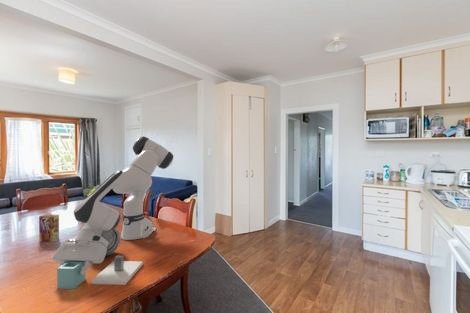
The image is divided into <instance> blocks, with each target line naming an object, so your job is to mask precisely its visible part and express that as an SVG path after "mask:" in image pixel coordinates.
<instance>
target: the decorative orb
mask: <svg viewBox="0 0 470 313" xmlns="http://www.w3.org/2000/svg"><path fill="white" fill-rule="evenodd" d="M101 237H103V238H104V239H106V240H107V241H108V243H109V244H108V246H107V247H106V248H107V252H106V255H105V257H107V256H110V255H112V254H114V252H115V251H116V250H117V249H118V247H119V246H120V242H121V234H120V232H119V231H118V230H117V229H116V228H115V229H113V230H110V231H103V232H102V234H101Z"/></svg>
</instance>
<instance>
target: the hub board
mask: <svg viewBox="0 0 470 313" xmlns="http://www.w3.org/2000/svg"><path fill="white" fill-rule="evenodd" d="M143 265H144V261H137V260H135V261H134V260H133V261H131V260H124V269H123V270H122V271H114V260H113V261H112V262H110V264H108V265H107V266H106V267H105V268H104V269H103V270H101V271H100V272H99V273H98V274H96V275H95V276H94V277H93V278H92V279H90V283H91V284H92V285H119V286H120V285H121V286H123V285H124V286H126V285H127V283H128V282H129V281H130V280H131V279H132V278H133V277H134V275H135V274H136V273H137V272H139V270H140V269H141V267H142V266H143Z"/></svg>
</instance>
